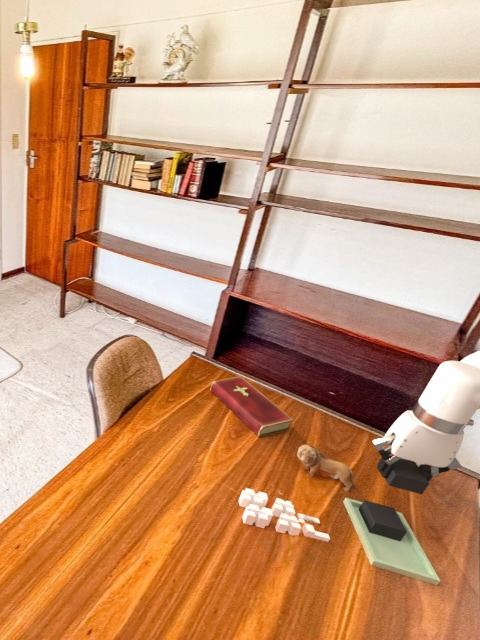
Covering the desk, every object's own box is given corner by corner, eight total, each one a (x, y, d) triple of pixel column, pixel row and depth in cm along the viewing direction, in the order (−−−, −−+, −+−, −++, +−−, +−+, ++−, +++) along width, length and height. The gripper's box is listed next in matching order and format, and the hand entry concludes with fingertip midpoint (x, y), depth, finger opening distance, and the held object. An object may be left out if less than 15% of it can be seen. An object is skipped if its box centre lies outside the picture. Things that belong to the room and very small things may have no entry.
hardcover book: (258, 437, 117) (262, 426, 115) (209, 390, 135) (212, 380, 133) (289, 429, 120) (293, 419, 118) (237, 385, 138) (241, 375, 136)
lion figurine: (291, 476, 105) (303, 452, 101) (287, 461, 109) (298, 437, 105) (357, 496, 100) (372, 472, 96) (350, 479, 105) (364, 455, 101)
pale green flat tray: (398, 518, 95) (401, 512, 94) (436, 586, 82) (440, 581, 81) (342, 502, 98) (345, 497, 97) (370, 566, 85) (373, 560, 84)
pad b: (408, 472, 91) (415, 461, 89) (422, 494, 85) (429, 483, 84) (376, 464, 92) (383, 453, 91) (388, 485, 87) (395, 474, 86)
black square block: (387, 517, 95) (394, 507, 93) (400, 541, 89) (407, 531, 88) (358, 509, 96) (364, 499, 95) (369, 532, 91) (375, 522, 90)
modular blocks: (243, 523, 92) (248, 512, 91) (237, 497, 98) (241, 486, 97) (339, 548, 88) (346, 537, 86) (326, 519, 94) (332, 508, 92)
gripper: (479, 416, 82) (437, 476, 89) (380, 394, 87) (348, 453, 94) (505, 443, 75) (457, 505, 83) (396, 418, 80) (360, 479, 88)
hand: (399, 477), depth 89 cm, fingers closed on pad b, 6 cm apart
